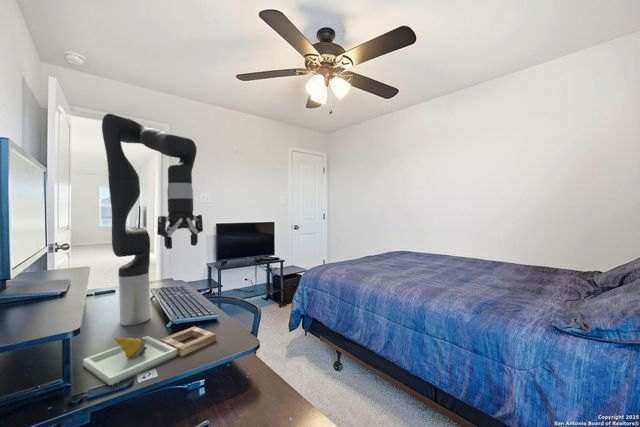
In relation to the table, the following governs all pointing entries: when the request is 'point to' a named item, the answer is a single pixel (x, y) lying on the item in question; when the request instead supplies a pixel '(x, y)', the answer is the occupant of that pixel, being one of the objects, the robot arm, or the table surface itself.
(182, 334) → the square wooden frame
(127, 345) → the yellow cone
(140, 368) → the tray
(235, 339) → the table surface
